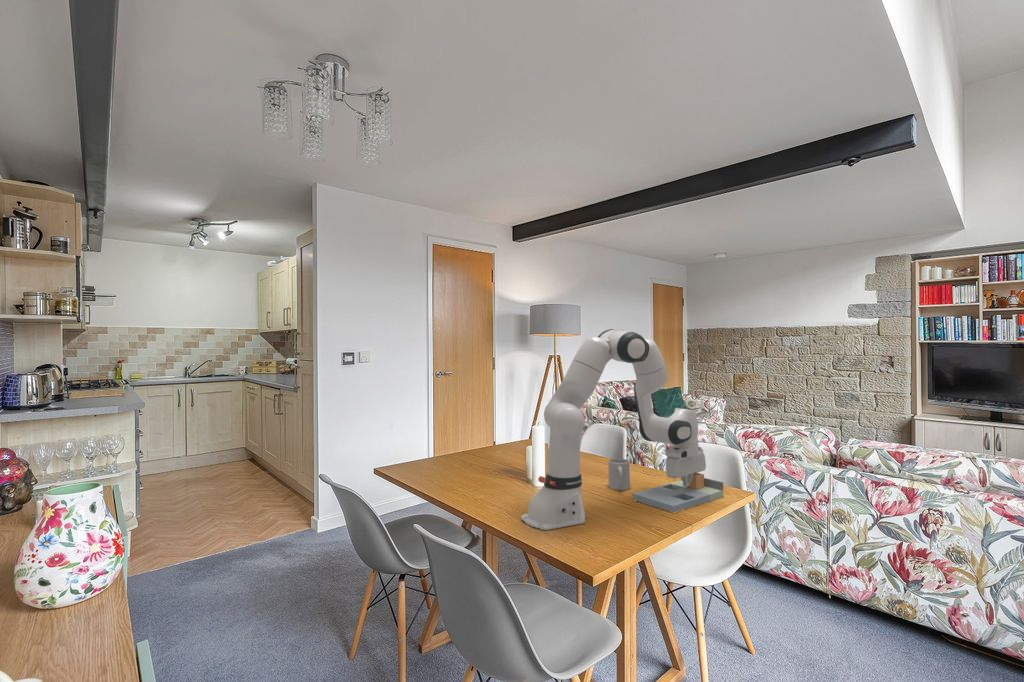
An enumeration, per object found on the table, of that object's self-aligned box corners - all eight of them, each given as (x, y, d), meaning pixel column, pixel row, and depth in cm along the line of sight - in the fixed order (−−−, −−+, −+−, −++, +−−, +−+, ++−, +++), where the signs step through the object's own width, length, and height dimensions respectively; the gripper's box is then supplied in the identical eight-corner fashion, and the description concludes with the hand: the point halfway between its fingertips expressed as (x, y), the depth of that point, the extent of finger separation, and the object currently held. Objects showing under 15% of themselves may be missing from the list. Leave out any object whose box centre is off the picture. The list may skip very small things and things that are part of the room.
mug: (607, 484, 200) (607, 458, 200) (628, 484, 199) (628, 458, 199) (610, 493, 188) (609, 465, 188) (632, 493, 187) (631, 465, 187)
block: (696, 489, 182) (696, 476, 182) (684, 486, 186) (685, 473, 187) (704, 487, 185) (704, 474, 185) (692, 484, 189) (692, 471, 189)
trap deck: (673, 513, 164) (673, 497, 164) (632, 500, 179) (632, 485, 179) (723, 496, 181) (723, 482, 181) (682, 486, 196) (682, 472, 196)
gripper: (695, 444, 192) (696, 479, 191) (662, 451, 180) (663, 488, 180) (709, 447, 186) (710, 483, 186) (676, 454, 175) (677, 492, 175)
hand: (687, 485), depth 183 cm, fingers closed
